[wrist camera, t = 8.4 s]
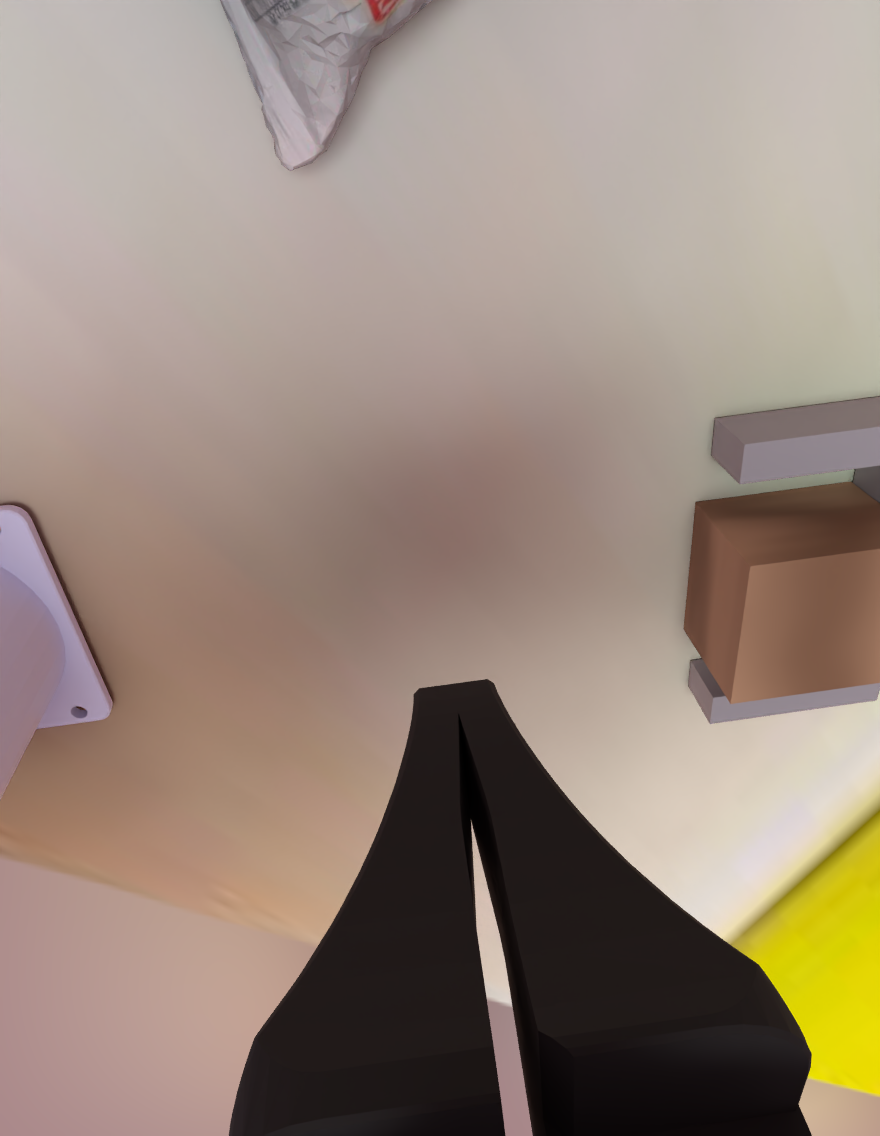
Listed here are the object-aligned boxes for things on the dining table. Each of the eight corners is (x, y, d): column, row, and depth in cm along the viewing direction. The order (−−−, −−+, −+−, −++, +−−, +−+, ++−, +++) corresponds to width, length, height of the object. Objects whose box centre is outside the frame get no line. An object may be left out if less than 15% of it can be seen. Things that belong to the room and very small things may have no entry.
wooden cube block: (682, 627, 26) (730, 703, 23) (693, 500, 24) (750, 566, 20) (821, 607, 27) (889, 681, 23) (848, 479, 24) (929, 541, 21)
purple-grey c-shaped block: (688, 685, 28) (710, 723, 26) (715, 418, 22) (744, 444, 21) (845, 663, 28) (876, 700, 26) (910, 392, 22) (955, 416, 21)
